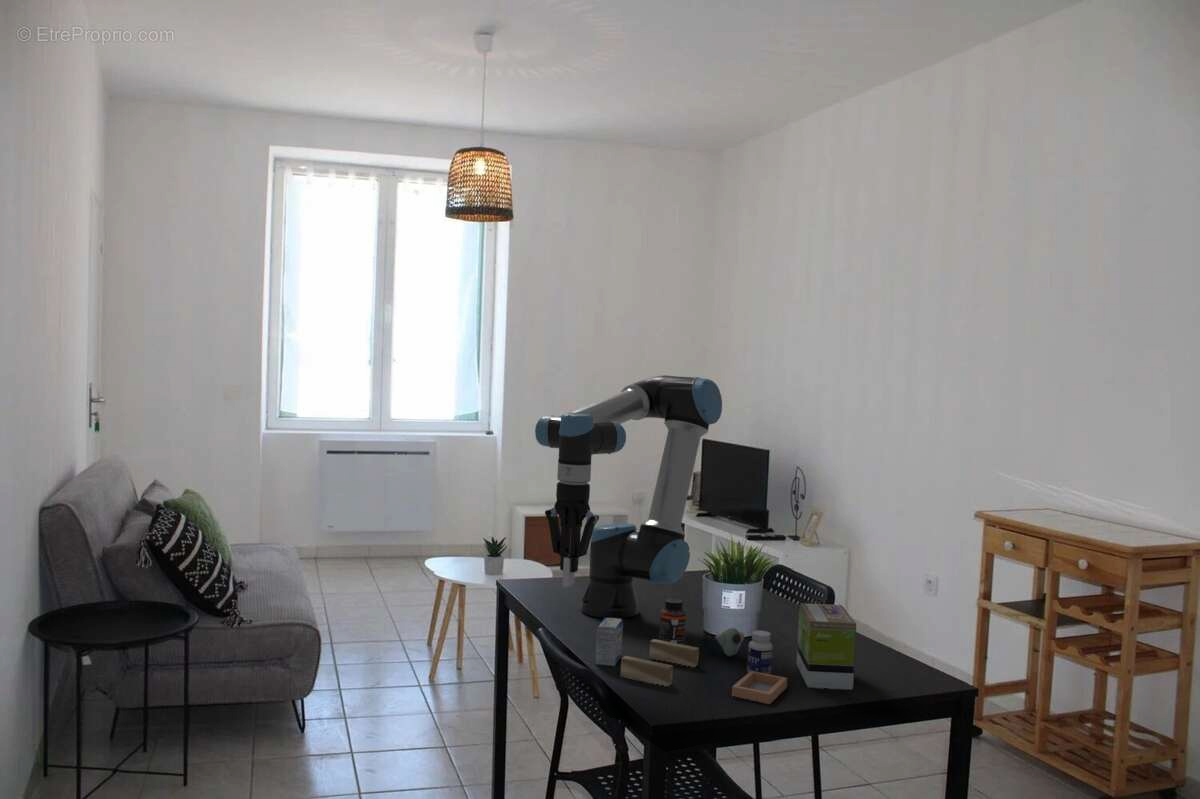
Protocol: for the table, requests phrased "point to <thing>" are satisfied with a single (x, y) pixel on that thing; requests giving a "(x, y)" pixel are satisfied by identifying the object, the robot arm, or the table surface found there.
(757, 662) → the pill bottle
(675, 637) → the supplement bottle
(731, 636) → the pale green rounded piece
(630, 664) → the parallel beige slabs
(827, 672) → the tea box
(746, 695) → the tray
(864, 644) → the table surface
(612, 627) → the medicine box
